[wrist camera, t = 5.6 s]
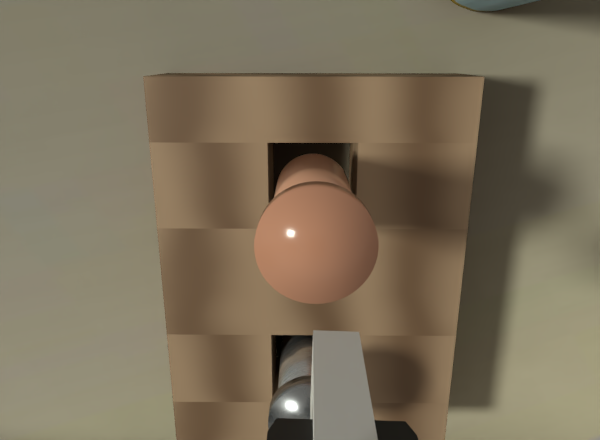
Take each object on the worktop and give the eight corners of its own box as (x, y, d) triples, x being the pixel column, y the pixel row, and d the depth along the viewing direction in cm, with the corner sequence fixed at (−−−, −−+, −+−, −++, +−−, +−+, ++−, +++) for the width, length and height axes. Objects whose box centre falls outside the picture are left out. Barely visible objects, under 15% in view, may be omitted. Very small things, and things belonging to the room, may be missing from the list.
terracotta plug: (270, 229, 29) (255, 303, 20) (268, 146, 27) (252, 187, 19) (354, 230, 29) (375, 304, 20) (357, 146, 27) (381, 187, 19)
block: (192, 397, 39) (177, 445, 34) (167, 73, 31) (143, 76, 27) (426, 398, 39) (443, 446, 34) (457, 73, 31) (484, 76, 27)
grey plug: (277, 365, 37) (268, 459, 28) (276, 306, 35) (267, 386, 27) (342, 365, 37) (354, 459, 28) (344, 306, 35) (357, 386, 27)
